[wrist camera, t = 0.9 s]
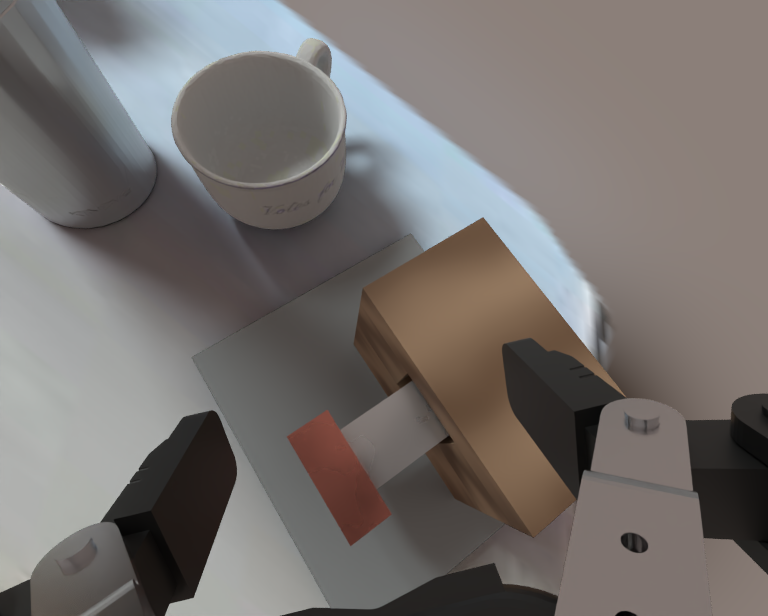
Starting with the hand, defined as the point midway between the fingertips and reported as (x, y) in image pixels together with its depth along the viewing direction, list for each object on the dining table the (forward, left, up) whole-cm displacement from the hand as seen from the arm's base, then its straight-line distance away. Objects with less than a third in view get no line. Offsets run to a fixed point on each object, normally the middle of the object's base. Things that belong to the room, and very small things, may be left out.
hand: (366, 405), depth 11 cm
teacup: (-19, +7, -18) cm, 27 cm away
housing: (+2, +7, -17) cm, 19 cm away
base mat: (+1, +3, -17) cm, 18 cm away
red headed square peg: (+2, +2, -12) cm, 12 cm away
